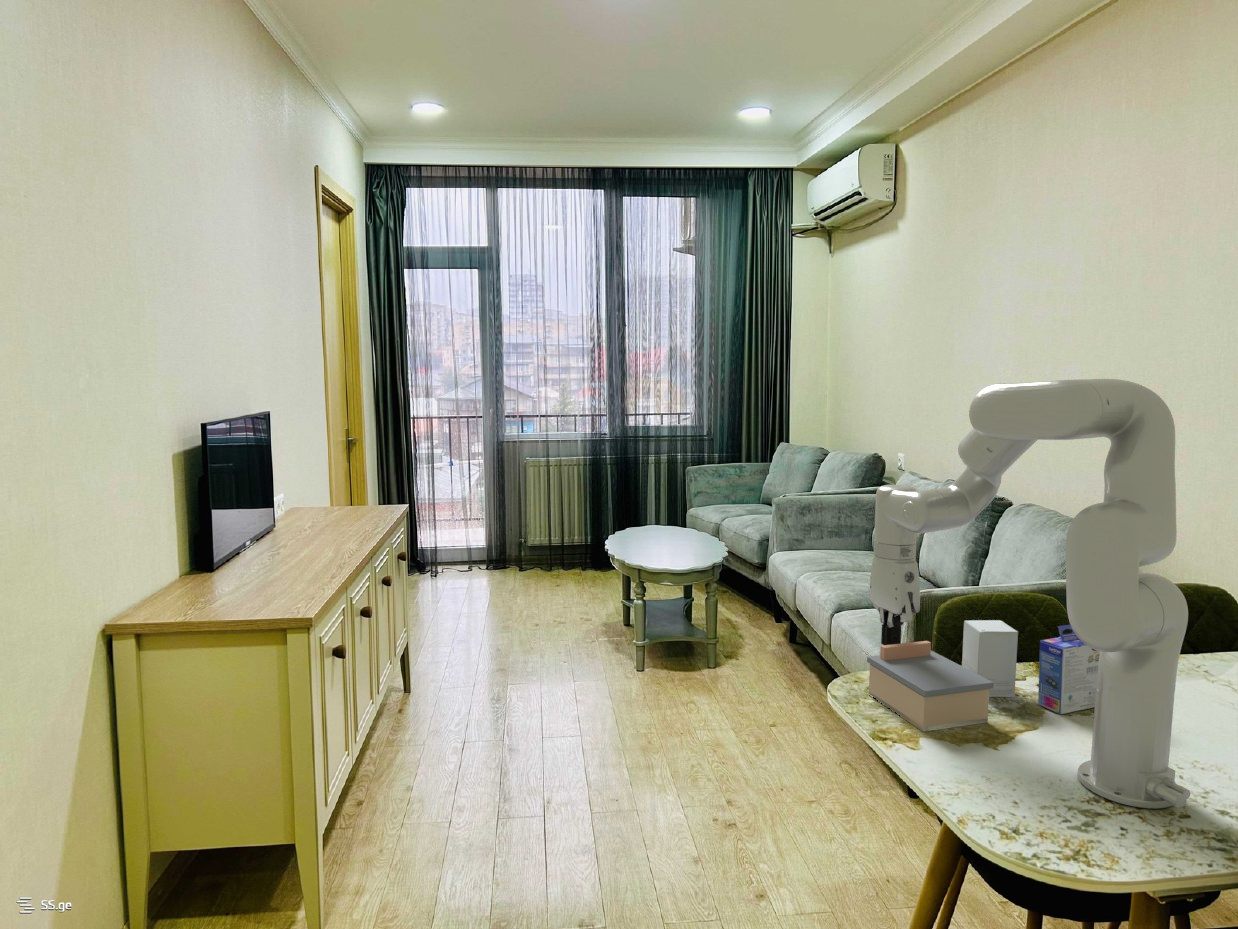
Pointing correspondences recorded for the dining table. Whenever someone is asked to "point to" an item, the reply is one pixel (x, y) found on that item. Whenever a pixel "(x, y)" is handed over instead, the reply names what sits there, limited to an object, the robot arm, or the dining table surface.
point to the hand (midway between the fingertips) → (890, 644)
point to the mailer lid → (926, 670)
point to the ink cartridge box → (1067, 673)
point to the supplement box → (991, 654)
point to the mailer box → (929, 704)
